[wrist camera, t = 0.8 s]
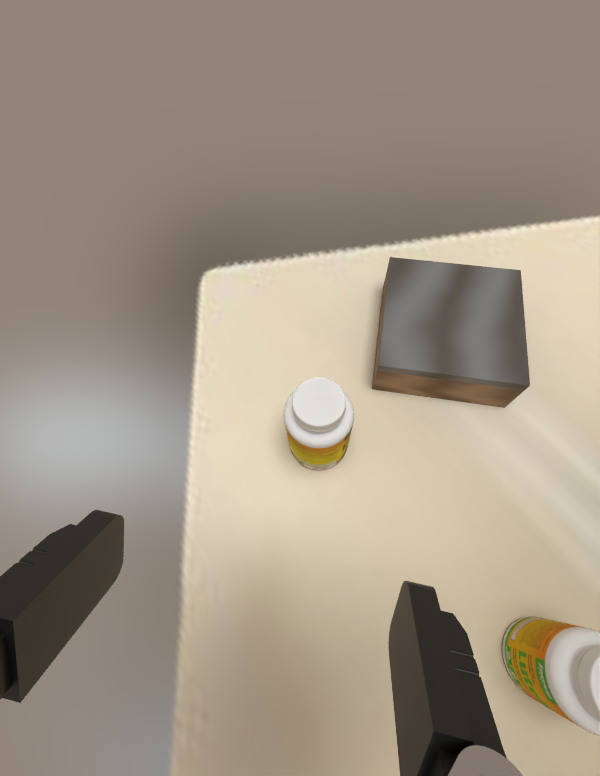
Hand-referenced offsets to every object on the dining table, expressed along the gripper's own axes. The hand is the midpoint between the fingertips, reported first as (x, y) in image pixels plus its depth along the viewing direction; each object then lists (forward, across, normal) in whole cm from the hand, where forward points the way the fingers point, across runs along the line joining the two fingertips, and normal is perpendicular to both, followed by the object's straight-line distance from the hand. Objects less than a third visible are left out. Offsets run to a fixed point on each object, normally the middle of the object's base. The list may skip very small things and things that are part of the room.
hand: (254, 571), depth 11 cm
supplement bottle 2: (+16, -20, +17) cm, 31 cm away
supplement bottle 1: (+26, -1, +8) cm, 27 cm away
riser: (+34, -11, -3) cm, 36 cm away
